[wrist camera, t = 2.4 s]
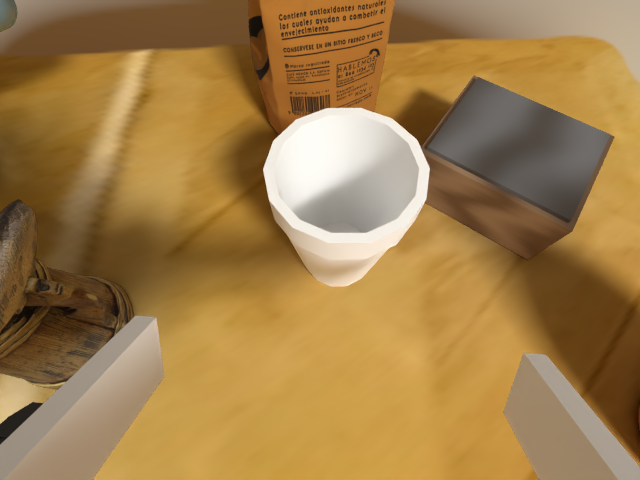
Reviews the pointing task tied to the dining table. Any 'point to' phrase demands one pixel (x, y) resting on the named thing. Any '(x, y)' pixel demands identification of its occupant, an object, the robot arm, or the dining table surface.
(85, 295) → the wooden mug
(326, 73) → the coffee package
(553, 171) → the walnut stand
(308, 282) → the dining table surface
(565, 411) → the robot arm
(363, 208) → the foam cup
